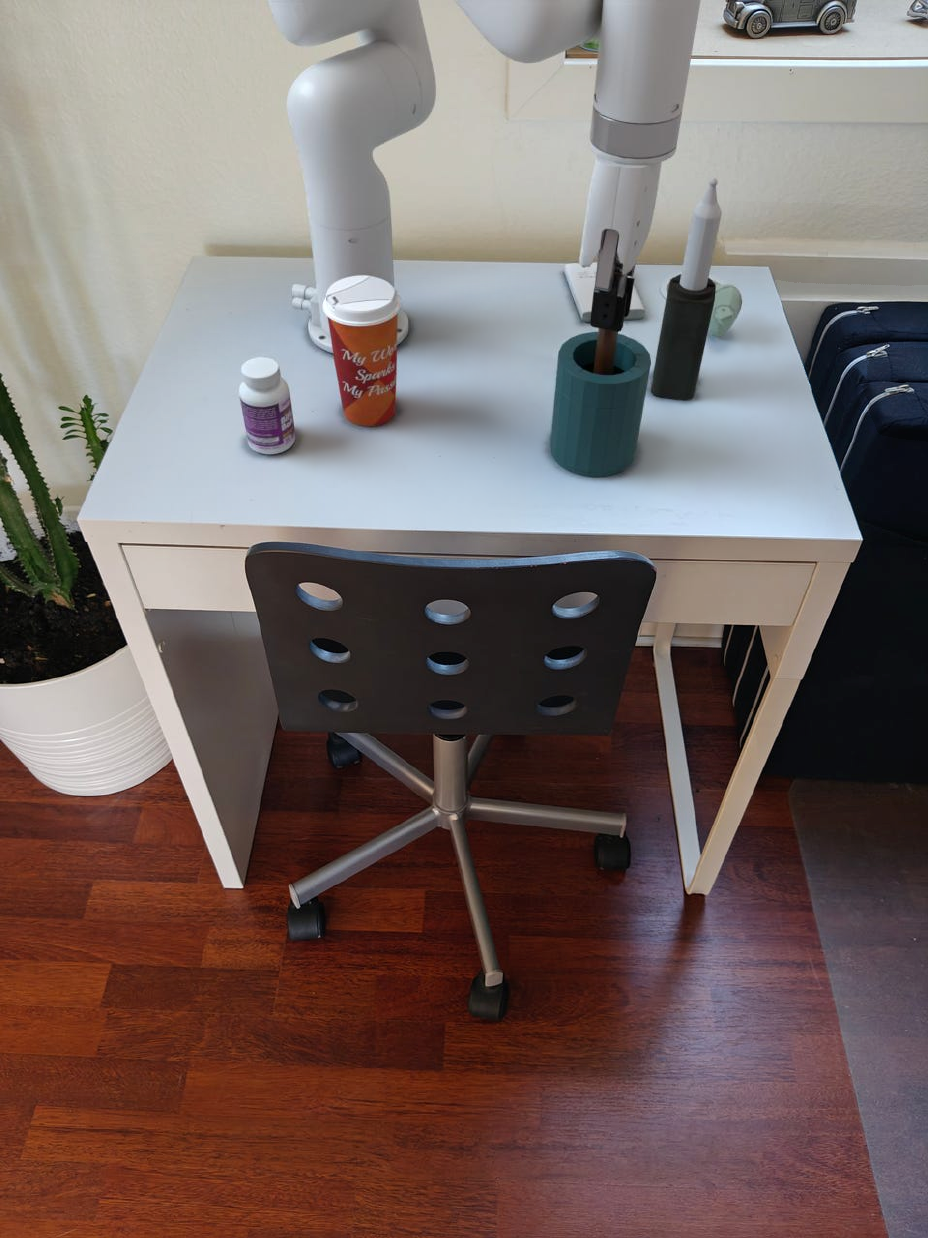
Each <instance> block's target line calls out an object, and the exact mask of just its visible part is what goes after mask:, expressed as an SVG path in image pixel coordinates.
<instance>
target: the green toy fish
mask: <svg viewBox="0 0 928 1238" xmlns="http://www.w3.org/2000/svg"><path fill="white" fill-rule="evenodd" d="M715 285H716V292H715V302H714V306H713V311H712V315H711V320H710V325H709V329H708V332H710V334H711V335H712V336H713V337H721V336H723V335H724V334H726V333H727V332H728V331H729V330H730V329H731V327H732V326H733V325H734V323H735V322H736V320H737V318H738V317H739V314H740V312H741V309H742V305H743V299H742V297H743V296H742V294H741V292H740V290H739V288H737V287H736V286H735V285H733V284H726V283H725V284H721V283H718V284H717V283H715Z"/></svg>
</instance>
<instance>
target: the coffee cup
mask: <svg viewBox="0 0 928 1238" xmlns="http://www.w3.org/2000/svg"><path fill="white" fill-rule="evenodd" d="M400 296H401V295H399V293H398V290H396V288H395V286H394V287H392V285H391V284H390V283H388V282H387V281H385V280H383V279H380V278H377V277H373V276H365V275H360V276H351V277H347V278H343V279H341V280H338V281H337V282H335V283H333V284H332V285H331V286H330V287H329V289H328V291H327V293H326V298H325V300H324V302H323V310H324V312H325V314H326V315H327V317H328V323H329V329H330V335H331V342H332V349H333V353H332V356H333V363H334V368H335V371H336V372H335V373H336V377H337V383H338V388H339V395H340V400H341V405H342V406H341V407H342V410H343V414H344V416H345V418H346V419H347V420H348V421H349V422H350V423H352V424H354V425H357V426H361V427H375V426H376V427H377V426H380V425H384V424H385V423H387V422H389V421H390V420H391V419H392V418H393V417H394V415H395V413H396V401H397V371H398V370H397V369H398V367H397V365H398V345H397V322H398V312H399V310H400V308H401V307H402V302H401V301H402V298H401V297H400Z"/></svg>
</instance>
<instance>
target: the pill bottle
mask: <svg viewBox="0 0 928 1238" xmlns="http://www.w3.org/2000/svg"><path fill="white" fill-rule="evenodd" d="M240 372H241V378H242V381H241V383H240V385H239V389H238V398H239V402H240V407H241V413H242V416H243V424H244V428H245V434H246V439H247V443H248V446H249V447H250V448H251V449H252V450H253V451H254V452H256V453H258V454H259V453H260V454H263V455H276V454H280V453H284V452H286V451H287V450H289V449H290V448H291V447H292V446H293V444H294V442H295V441H296V429H295V422H294V421H295V420H294V414H293V408H292V401H291V393H290V392H291V391H290V387H289V384H288V382H287V381H286V379H285V378H283V377H282V376H281V375H282V374H281V369H280V364H279V363H278V361H277V360H276V359H274V358H271V357H267V356H266V357H265V356H257V357H253V358H250V359H248V360H246V361H245V362H244V363H242V365H241V368H240Z"/></svg>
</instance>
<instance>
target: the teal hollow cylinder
mask: <svg viewBox="0 0 928 1238" xmlns="http://www.w3.org/2000/svg"><path fill="white" fill-rule="evenodd" d="M597 337H598V331H590V332H583V333H579V334H577V335H574V336H572V337H570V338H569V339H567V340H566V341H565V342H563V343H562V344H561V346H560V348H559V350H558V352H557V353H558V354H557V364H556V374H555V385H554V394H553V395H554V396H553V398H554V399H553V407H552V417H551V430H550V438H549V439H550V440H549V443H550V444H549V448H550V449H549V451H550V454H551V456H552V458H553V460H554V462H556V463H557V465H559V466H560V467H561V468H563V469H565V470H566V471H569V472H571V473H573V474H576V475H579V476H584V477H590V478H599V477H600V478H603V477H610V476H613V475H616V474H619V473H620V472H623V471H625V470H626V469H627V468H628V467H629V466H630V465H631V464H632V463H633V461H634V458H635V455H636V452H637V451H636V450H637V447H638V441H639V435H640V431H641V430H640V428H641V423H642V419H643V413H644V412H643V411H644V407H645V400H646V395H647V389H648V383H649V378H650V371H651V367H652V366H651V365H652V359H651V354H650V352H649V351H648V349H647V348H646V346H645V345H643V344H642V343H641V342H639V341H638V340H636V339H634V338H632V337H629V336H627V335H625V334H621V333H618V338H617V345H616V352H615V359H614V367H613V374H612V375H599V374H594V373H593V370H594V361H595V353H596V345H597Z"/></svg>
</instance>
